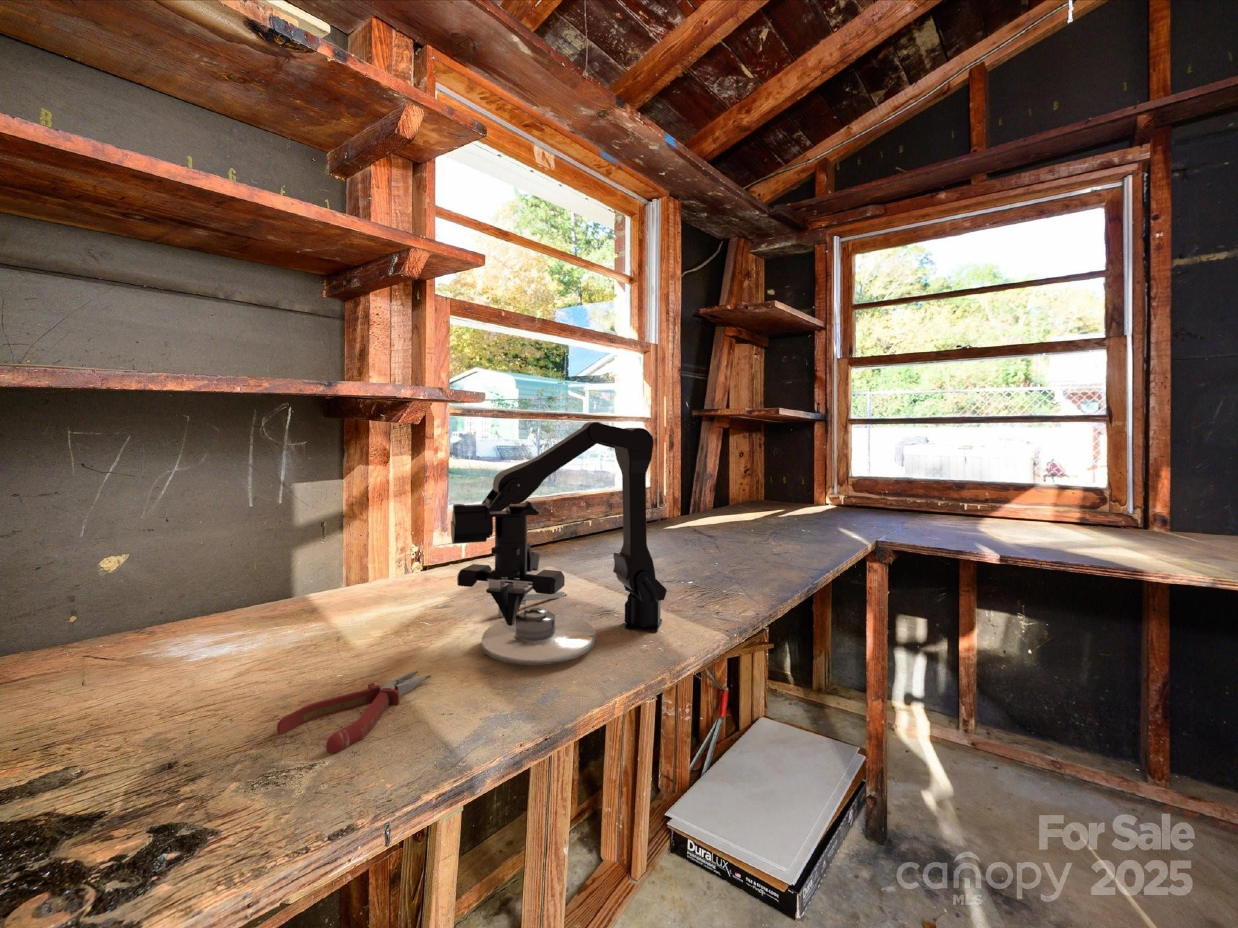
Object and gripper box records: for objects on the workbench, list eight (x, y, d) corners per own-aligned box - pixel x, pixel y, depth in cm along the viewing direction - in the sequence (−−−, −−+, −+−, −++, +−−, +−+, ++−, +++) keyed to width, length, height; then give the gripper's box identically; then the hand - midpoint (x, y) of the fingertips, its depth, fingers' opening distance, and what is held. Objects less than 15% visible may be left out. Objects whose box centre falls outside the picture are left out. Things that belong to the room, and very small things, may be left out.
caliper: (501, 619, 112) (501, 590, 112) (498, 618, 113) (498, 589, 113) (567, 596, 129) (567, 570, 128) (564, 595, 129) (564, 569, 129)
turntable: (607, 626, 104) (607, 619, 104) (575, 670, 85) (575, 662, 85) (511, 617, 109) (511, 610, 109) (460, 657, 90) (460, 648, 90)
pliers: (452, 688, 83) (452, 671, 82) (334, 760, 64) (333, 739, 64) (397, 674, 87) (397, 658, 87) (272, 737, 69) (272, 718, 69)
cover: (560, 628, 100) (560, 605, 99) (546, 642, 93) (546, 617, 93) (525, 624, 101) (525, 602, 101) (509, 638, 94) (509, 614, 94)
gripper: (574, 534, 103) (573, 615, 104) (485, 529, 107) (485, 606, 108) (553, 546, 92) (553, 636, 93) (455, 540, 97) (455, 625, 98)
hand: (510, 624), depth 98 cm, fingers closed
